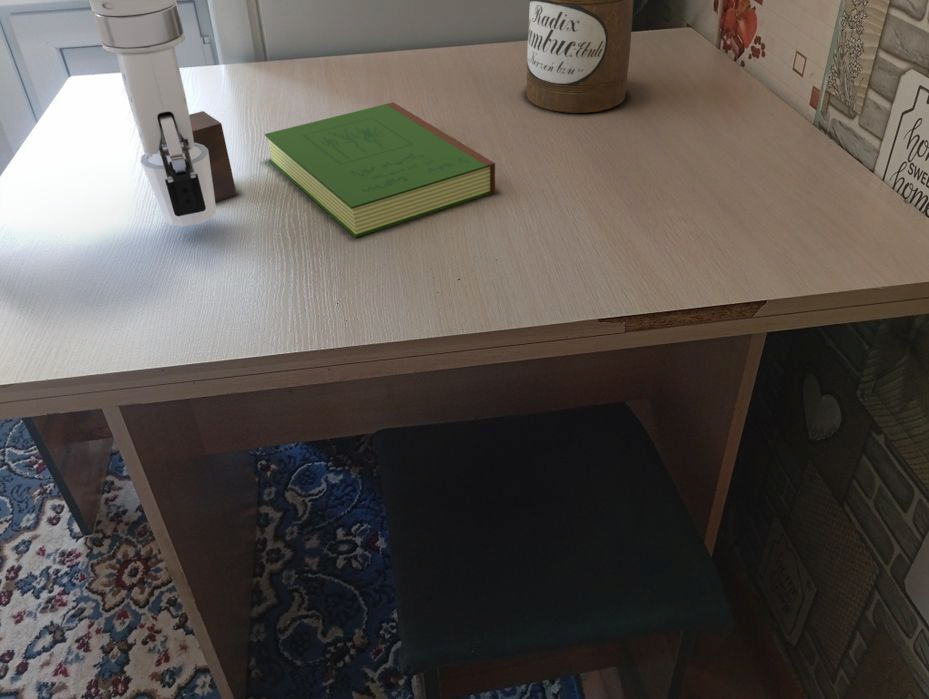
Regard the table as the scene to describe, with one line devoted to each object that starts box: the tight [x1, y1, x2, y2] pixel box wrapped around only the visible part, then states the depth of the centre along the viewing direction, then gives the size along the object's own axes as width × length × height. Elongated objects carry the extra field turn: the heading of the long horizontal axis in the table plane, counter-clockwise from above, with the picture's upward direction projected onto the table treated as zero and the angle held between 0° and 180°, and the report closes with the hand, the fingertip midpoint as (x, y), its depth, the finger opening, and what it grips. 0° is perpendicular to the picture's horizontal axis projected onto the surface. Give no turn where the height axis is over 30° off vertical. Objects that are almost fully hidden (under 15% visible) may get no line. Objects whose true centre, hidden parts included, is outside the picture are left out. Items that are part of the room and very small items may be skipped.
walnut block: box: [189, 110, 238, 203], centre depth 92 cm, size 5×5×9 cm
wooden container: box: [526, 0, 634, 114], centre depth 112 cm, size 15×15×22 cm
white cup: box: [140, 142, 217, 227], centre depth 84 cm, size 7×7×7 cm
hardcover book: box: [264, 101, 496, 239], centre depth 97 cm, size 25×19×4 cm
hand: (185, 196), depth 85 cm, fingers closed on white cup, 6 cm apart
